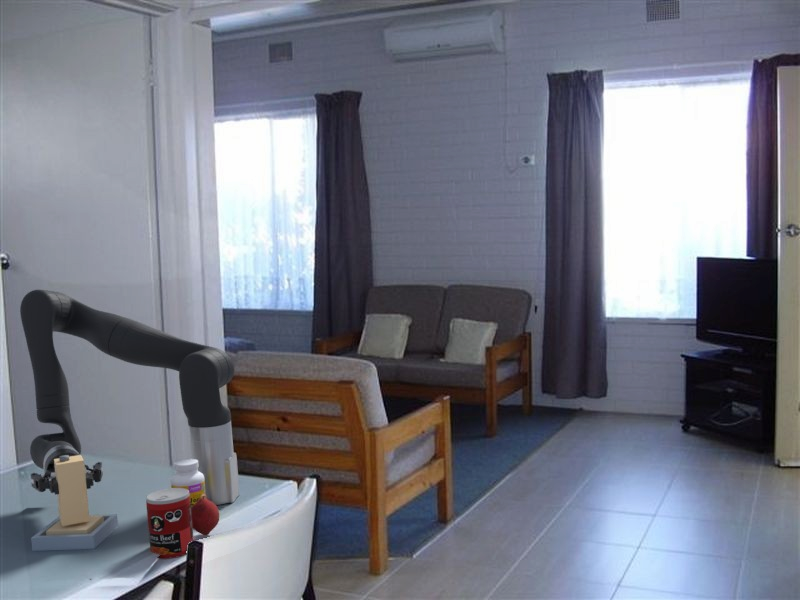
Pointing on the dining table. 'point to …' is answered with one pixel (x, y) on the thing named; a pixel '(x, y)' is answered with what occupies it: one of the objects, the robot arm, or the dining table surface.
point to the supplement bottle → (189, 479)
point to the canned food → (169, 522)
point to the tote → (74, 536)
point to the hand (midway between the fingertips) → (72, 486)
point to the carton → (71, 489)
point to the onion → (204, 515)
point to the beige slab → (76, 527)
